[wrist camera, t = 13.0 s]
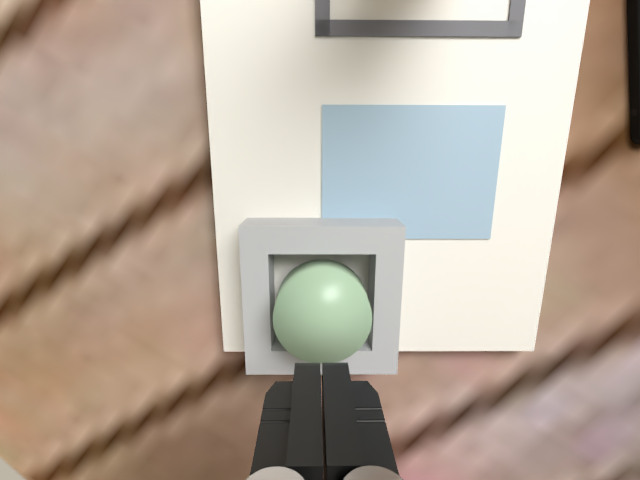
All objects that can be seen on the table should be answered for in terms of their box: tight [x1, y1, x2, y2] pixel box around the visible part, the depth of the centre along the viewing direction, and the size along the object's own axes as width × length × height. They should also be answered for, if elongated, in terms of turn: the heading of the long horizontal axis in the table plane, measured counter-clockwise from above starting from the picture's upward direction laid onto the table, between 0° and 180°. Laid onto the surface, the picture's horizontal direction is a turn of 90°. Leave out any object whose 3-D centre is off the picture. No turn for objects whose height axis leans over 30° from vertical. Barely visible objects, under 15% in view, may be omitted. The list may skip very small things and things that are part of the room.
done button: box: [273, 259, 372, 364], centre depth 16 cm, size 4×4×2 cm
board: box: [200, 0, 590, 375], centre depth 16 cm, size 16×24×3 cm, turn 0°
